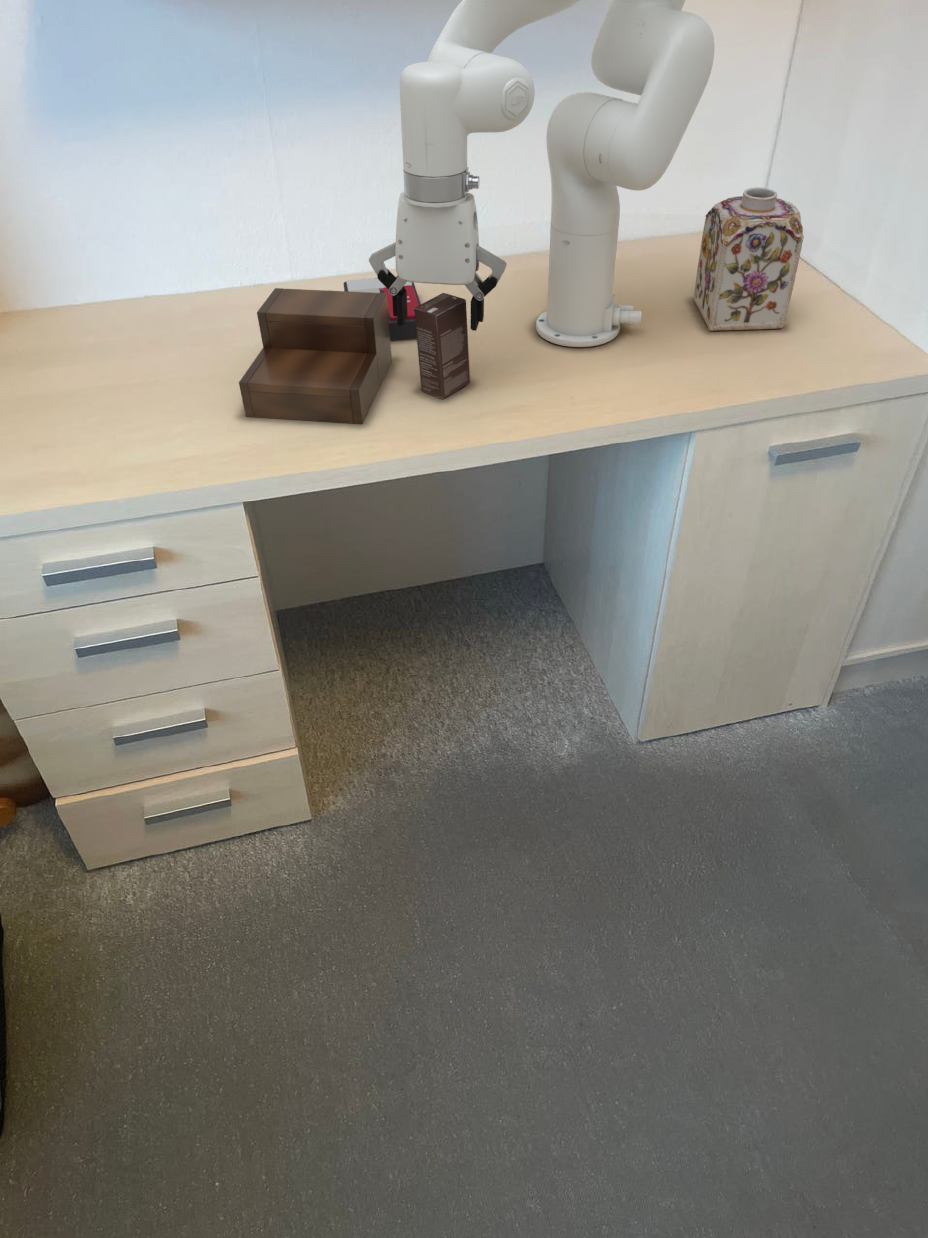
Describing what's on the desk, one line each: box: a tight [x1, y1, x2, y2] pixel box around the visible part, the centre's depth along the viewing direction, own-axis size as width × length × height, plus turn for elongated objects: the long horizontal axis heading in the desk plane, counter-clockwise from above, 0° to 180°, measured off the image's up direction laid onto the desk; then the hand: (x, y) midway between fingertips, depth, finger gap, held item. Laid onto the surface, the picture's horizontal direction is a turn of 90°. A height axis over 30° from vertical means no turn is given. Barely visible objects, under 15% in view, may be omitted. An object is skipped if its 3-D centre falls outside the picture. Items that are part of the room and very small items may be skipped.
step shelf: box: [238, 287, 393, 425], centre depth 123 cm, size 16×18×10 cm
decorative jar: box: [693, 186, 805, 332], centre depth 134 cm, size 12×12×18 cm
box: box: [414, 292, 471, 400], centre depth 121 cm, size 6×4×12 cm
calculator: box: [343, 275, 422, 342], centre depth 140 cm, size 11×4×15 cm
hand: (438, 323), depth 119 cm, fingers open, 9 cm apart
